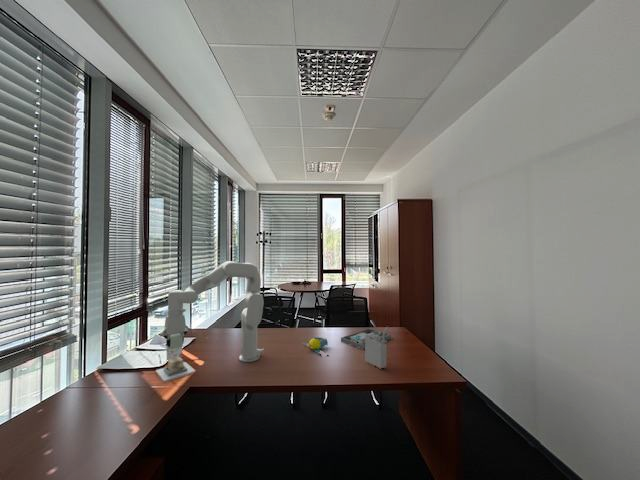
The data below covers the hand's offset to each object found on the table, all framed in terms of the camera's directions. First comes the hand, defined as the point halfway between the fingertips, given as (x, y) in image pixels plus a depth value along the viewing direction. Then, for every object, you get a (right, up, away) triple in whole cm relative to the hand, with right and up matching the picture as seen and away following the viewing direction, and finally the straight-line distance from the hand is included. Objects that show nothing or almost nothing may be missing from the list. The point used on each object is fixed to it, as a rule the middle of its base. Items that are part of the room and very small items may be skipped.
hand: (175, 344), depth 160 cm
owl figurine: (+79, -17, +35) cm, 88 cm away
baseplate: (0, -16, 0) cm, 16 cm away
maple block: (0, -15, 0) cm, 15 cm away
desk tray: (+116, -16, +53) cm, 128 cm away
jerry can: (+115, -16, +9) cm, 117 cm away
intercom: (+117, -16, +56) cm, 130 cm away
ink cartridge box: (-9, -16, +17) cm, 25 cm away
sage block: (0, -1, 0) cm, 1 cm away
